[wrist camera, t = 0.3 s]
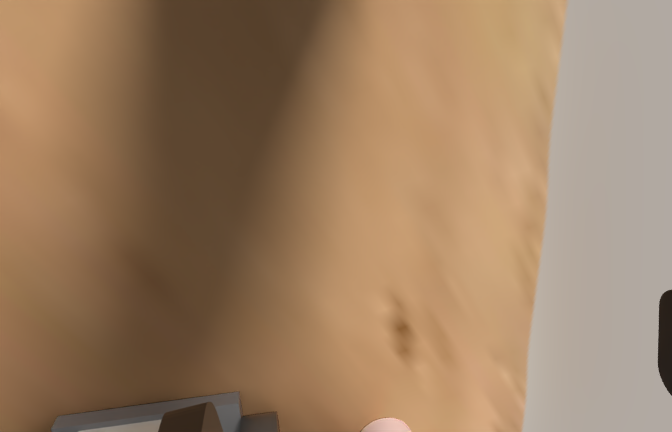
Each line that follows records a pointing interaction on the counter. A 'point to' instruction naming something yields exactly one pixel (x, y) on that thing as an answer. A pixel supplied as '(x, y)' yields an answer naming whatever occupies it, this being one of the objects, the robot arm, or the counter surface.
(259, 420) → the chassis
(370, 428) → the smoothie
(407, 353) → the counter surface
